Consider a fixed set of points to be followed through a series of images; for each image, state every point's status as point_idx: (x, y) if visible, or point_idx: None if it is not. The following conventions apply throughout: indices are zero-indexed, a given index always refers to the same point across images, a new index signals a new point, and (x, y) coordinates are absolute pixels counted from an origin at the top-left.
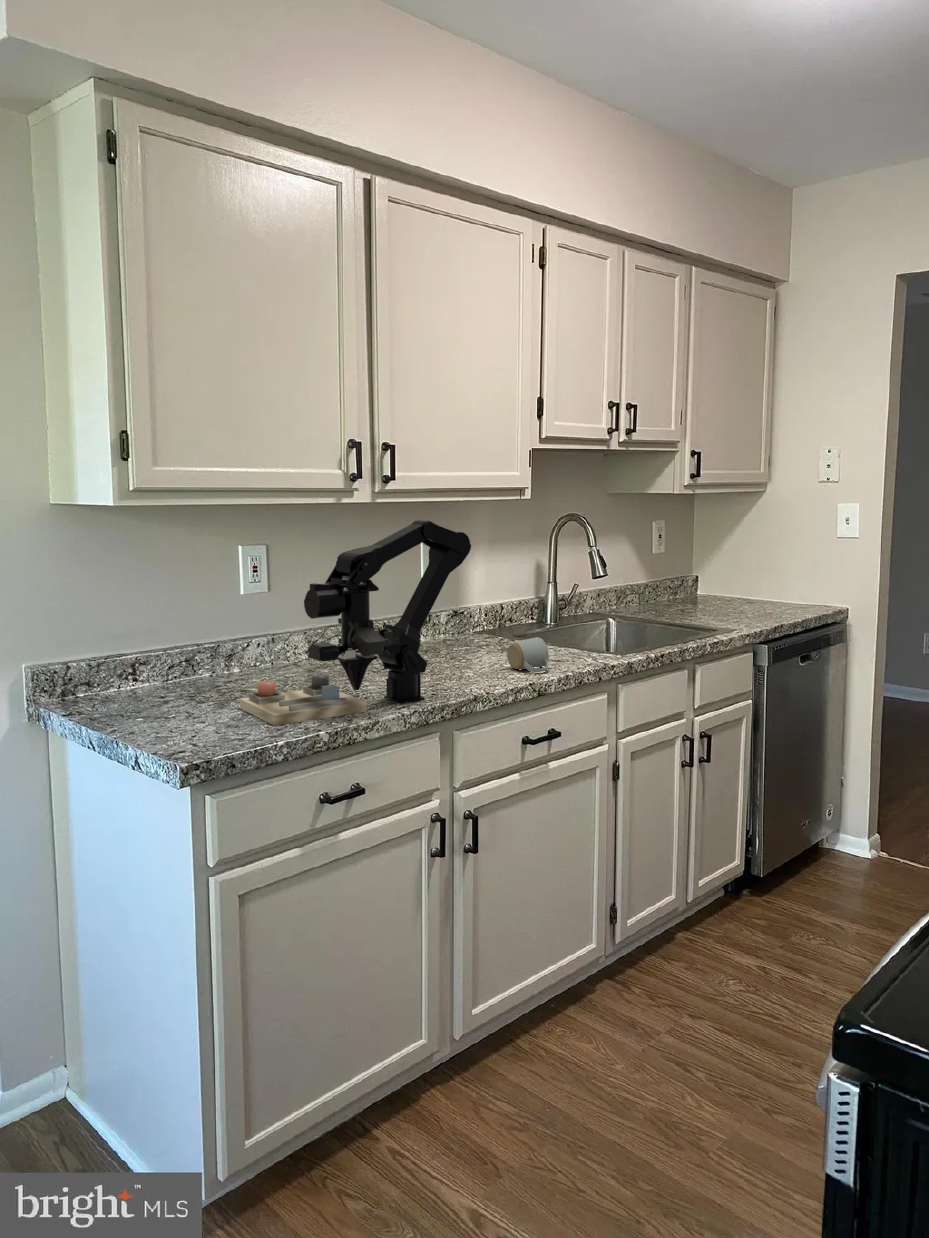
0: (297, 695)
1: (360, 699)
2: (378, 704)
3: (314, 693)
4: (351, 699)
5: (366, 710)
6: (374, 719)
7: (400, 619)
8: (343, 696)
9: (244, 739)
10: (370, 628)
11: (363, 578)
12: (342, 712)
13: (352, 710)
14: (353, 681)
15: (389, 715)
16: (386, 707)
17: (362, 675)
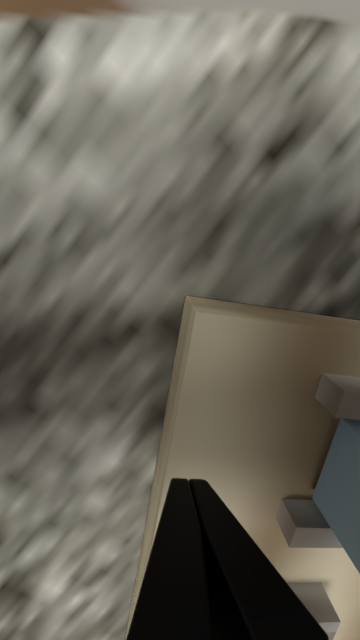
0: (348, 636)
1: (181, 397)
2: (13, 395)
3: (332, 605)
4: (224, 433)
5: (189, 296)
6: (292, 78)
7: None
8: None
9: None
10: None
11: None
12: (349, 322)
13: (290, 313)
14: (262, 560)
15: (139, 89)
16: (14, 301)
17: (161, 629)
